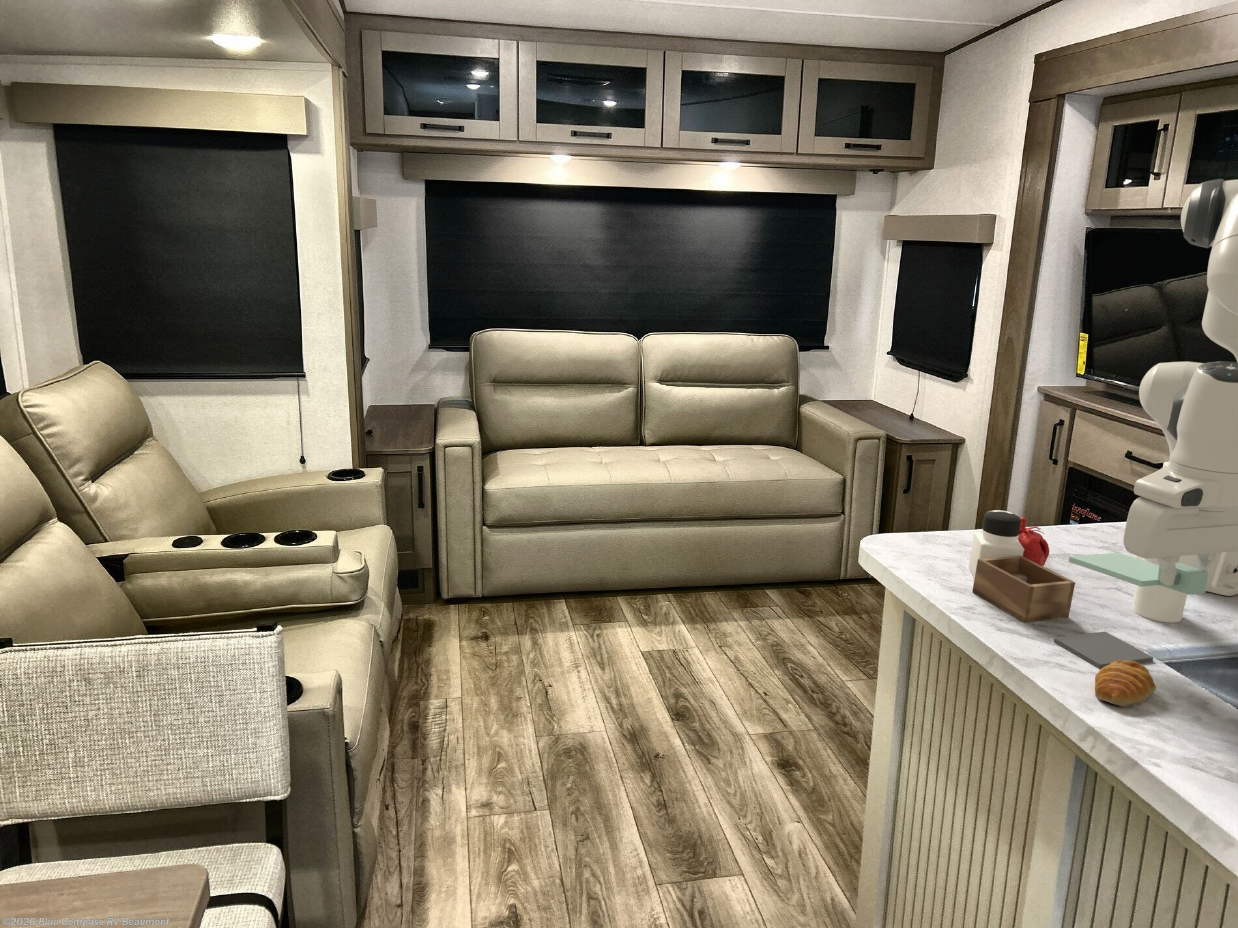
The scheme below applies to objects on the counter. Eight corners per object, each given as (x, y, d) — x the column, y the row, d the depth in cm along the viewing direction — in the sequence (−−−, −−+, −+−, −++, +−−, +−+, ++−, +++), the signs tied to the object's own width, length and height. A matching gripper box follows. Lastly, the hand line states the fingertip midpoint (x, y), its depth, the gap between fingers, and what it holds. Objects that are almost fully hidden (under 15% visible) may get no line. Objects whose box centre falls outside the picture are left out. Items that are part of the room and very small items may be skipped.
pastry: (1136, 717, 114) (1142, 691, 113) (1080, 697, 119) (1085, 671, 118) (1156, 693, 121) (1161, 667, 120) (1102, 675, 125) (1107, 650, 124)
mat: (1104, 634, 138) (1105, 631, 138) (1152, 660, 130) (1153, 657, 130) (1053, 641, 134) (1054, 637, 134) (1099, 668, 127) (1100, 664, 126)
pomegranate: (997, 574, 161) (1004, 525, 159) (982, 554, 171) (988, 508, 168) (1054, 578, 160) (1062, 529, 158) (1036, 557, 170) (1043, 511, 167)
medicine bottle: (1018, 587, 155) (1030, 522, 152) (975, 582, 156) (986, 517, 153) (1009, 572, 162) (1020, 509, 159) (967, 567, 163) (978, 505, 160)
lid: (1117, 557, 137) (1120, 538, 136) (1223, 591, 121) (1226, 569, 121) (1068, 561, 134) (1071, 542, 133) (1170, 596, 118) (1173, 574, 117)
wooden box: (1014, 587, 155) (1020, 555, 153) (1068, 616, 144) (1075, 582, 142) (972, 592, 152) (977, 559, 150) (1023, 622, 141) (1030, 586, 139)
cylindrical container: (1164, 625, 142) (1199, 475, 136) (1122, 607, 148) (1153, 463, 142) (1191, 618, 146) (1226, 471, 139) (1148, 601, 152) (1180, 460, 145)
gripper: (1237, 476, 124) (1215, 569, 128) (1125, 482, 118) (1105, 579, 121) (1282, 489, 119) (1257, 586, 122) (1167, 495, 112) (1144, 597, 116)
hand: (1180, 582), depth 122 cm, fingers closed on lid, 3 cm apart
